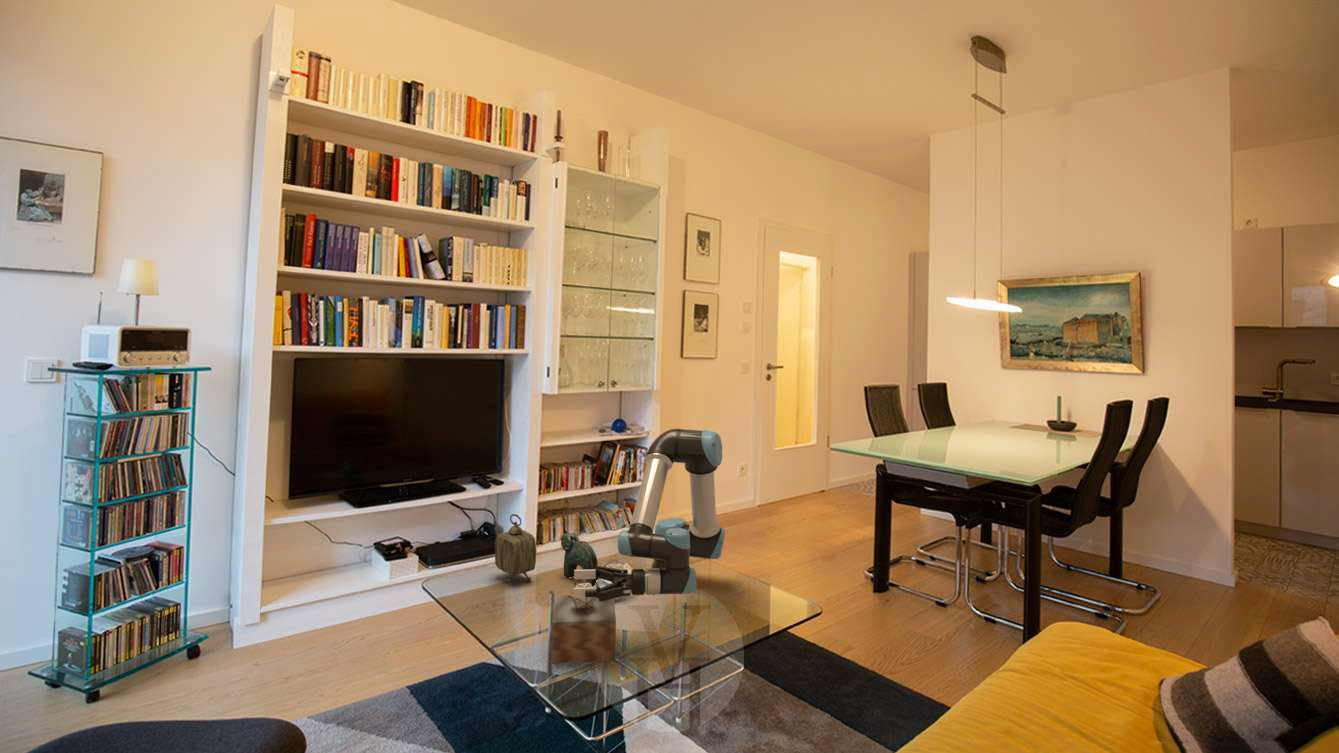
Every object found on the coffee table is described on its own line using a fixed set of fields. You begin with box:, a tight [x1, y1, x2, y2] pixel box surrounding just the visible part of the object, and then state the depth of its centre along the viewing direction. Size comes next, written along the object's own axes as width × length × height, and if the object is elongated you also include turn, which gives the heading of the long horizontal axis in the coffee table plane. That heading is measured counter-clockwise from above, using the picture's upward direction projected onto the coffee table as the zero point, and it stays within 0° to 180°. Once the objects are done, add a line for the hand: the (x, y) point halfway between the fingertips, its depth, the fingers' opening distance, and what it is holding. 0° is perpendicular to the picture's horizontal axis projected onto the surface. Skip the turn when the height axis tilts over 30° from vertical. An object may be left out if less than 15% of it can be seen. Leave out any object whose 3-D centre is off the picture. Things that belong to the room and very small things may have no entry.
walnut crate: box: [551, 594, 617, 664], centre depth 192 cm, size 18×18×12 cm
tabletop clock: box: [494, 513, 537, 583], centre depth 239 cm, size 14×9×25 cm, turn 48°
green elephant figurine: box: [560, 528, 599, 586], centre depth 239 cm, size 20×6×20 cm, turn 42°
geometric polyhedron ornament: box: [568, 580, 595, 611], centre depth 191 cm, size 9×8×10 cm
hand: (573, 583), depth 190 cm, fingers open, 13 cm apart
